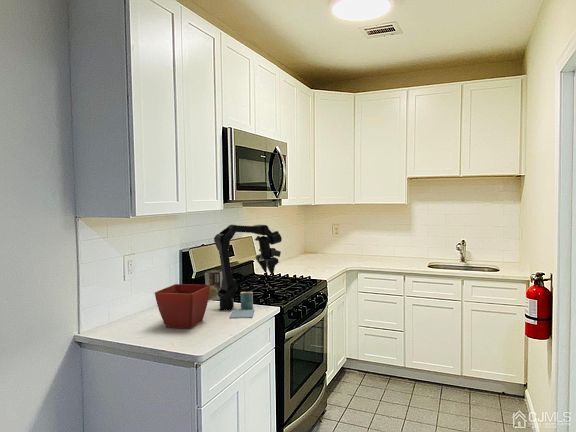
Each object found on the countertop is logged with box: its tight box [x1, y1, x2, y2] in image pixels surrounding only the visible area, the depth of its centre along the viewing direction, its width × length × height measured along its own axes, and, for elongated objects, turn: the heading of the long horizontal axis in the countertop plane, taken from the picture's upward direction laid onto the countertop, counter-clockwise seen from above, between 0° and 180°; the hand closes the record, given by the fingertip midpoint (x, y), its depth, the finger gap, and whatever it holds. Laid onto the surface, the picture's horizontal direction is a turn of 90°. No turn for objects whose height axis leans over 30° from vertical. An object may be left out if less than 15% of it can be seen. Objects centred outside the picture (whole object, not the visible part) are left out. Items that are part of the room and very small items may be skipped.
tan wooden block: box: [239, 291, 254, 310], centre depth 218 cm, size 6×3×9 cm, turn 90°
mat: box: [229, 309, 255, 319], centre depth 210 cm, size 11×12×1 cm
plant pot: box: [154, 283, 210, 329], centre depth 196 cm, size 19×19×17 cm
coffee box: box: [204, 269, 223, 301], centre depth 242 cm, size 9×6×16 cm
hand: (269, 273), depth 236 cm, fingers open, 9 cm apart
